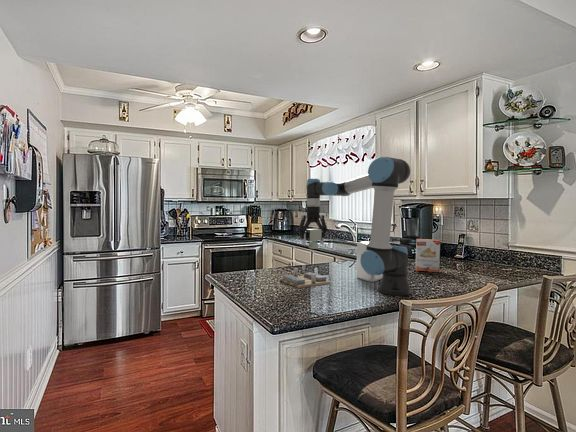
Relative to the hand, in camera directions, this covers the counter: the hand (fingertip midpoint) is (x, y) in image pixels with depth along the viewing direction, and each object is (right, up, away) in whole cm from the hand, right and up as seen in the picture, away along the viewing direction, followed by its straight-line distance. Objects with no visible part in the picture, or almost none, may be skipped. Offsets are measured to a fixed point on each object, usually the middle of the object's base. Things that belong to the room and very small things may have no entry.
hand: (312, 244), depth 195 cm
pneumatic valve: (0, -2, 0) cm, 2 cm away
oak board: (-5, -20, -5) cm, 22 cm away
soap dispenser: (+32, -21, +4) cm, 38 cm away
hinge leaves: (-5, -19, -5) cm, 20 cm away
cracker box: (+76, -20, +27) cm, 83 cm away
